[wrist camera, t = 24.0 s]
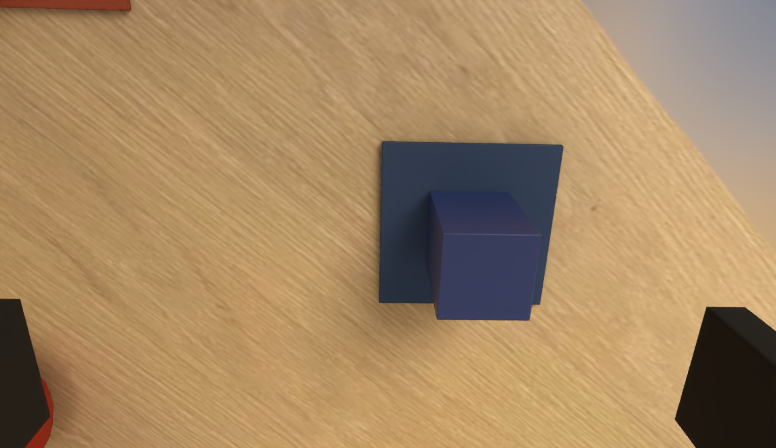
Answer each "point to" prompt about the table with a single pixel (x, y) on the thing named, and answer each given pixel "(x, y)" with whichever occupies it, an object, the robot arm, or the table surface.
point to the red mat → (69, 4)
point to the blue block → (480, 256)
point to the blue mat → (463, 174)
